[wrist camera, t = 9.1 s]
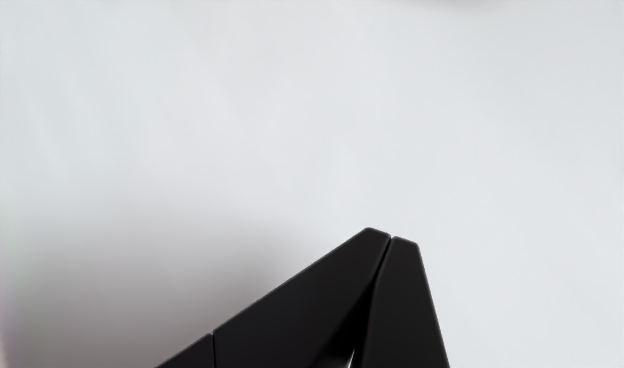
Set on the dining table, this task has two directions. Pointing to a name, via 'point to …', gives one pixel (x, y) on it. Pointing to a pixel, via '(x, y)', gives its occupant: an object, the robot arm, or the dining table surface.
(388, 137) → the dining table surface
